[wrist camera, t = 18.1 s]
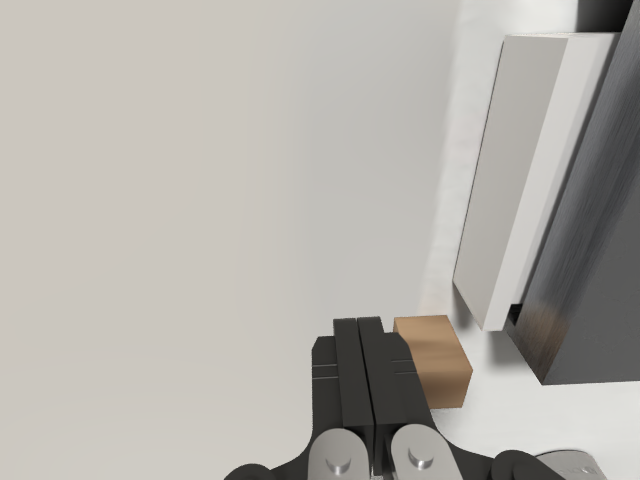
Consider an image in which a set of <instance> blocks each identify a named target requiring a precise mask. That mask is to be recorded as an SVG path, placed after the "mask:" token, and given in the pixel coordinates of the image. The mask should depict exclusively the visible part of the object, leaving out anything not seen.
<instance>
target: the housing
mask: <svg viewBox="0 0 640 480" xmlns="http://www.w3.org/2000/svg"><path fill="white" fill-rule="evenodd" d="M503 327H504V328H505V330H506V331H507V333H508V334H509V336H510V337H511V339H512V340H513V342H514V343H515V345H516V346H517V348H518V350H519V351H520V353H521V354H522V356H523V357H524V359H525V360H526V362H527V363H528V365H529V366H530V368H531V369H532V371H533V373H534V374H535V376H536V377H537V379H538V380H539V382H540V383H541V385H562V384H583V383H605V382H626V381H640V0H634V1H633V4H632V6H631V9H630V12H629V15H628V17H627V20H626V23H625V26H624V28H623V31H622V34H621V37H620V39H619V42H618V45H617V48H616V50H615V53H614V56H613V59H612V61H611V64H610V67H609V70H608V72H607V75H606V78H605V81H604V83H603V86H602V89H601V92H600V94H599V97H598V100H597V103H596V105H595V108H594V111H593V114H592V117H591V119H590V122H589V125H588V128H587V130H586V133H585V136H584V139H583V141H582V144H581V147H580V150H579V152H578V155H577V158H576V161H575V163H574V166H573V169H572V172H571V174H570V177H569V180H568V183H567V185H566V188H565V191H564V194H563V196H562V199H561V202H560V205H559V207H558V210H557V213H556V216H555V218H554V221H553V224H552V227H551V229H550V232H549V235H548V238H547V240H546V243H545V246H544V249H543V252H542V254H541V257H540V260H539V263H538V265H537V268H536V271H535V274H534V276H533V279H532V282H531V285H530V287H529V290H528V293H527V296H526V298H525V301H524V303H522V304H511V305H510V308H509V311H508V314H507V317H506V320H505V323H504V326H503Z"/></svg>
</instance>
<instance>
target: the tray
mask: <svg viewBox="0 0 640 480" xmlns="http://www.w3.org/2000/svg"><path fill="white" fill-rule="evenodd" d="M621 34H622V32H581V33H553V34H526V35H505V39H504V44H503V48H502V53H501V58H500V63H499V67H498V72H497V77H496V81H495V86H494V91H493V95H492V100H491V105H490V109H489V114H488V119H487V124H486V128H485V133H484V138H483V142H482V147H481V152H480V156H479V161H478V166H477V170H476V175H475V180H474V184H473V189H472V194H471V199H470V203H469V208H468V213H467V217H466V222H465V227H464V231H463V236H462V241H461V245H460V250H459V255H458V259H457V264H456V269H455V274H454V278H453V282H454V284H455V285H456V287H457V289H458V291H459V292H460V294H461V296H462V298H463V299H464V301H465V303H466V305H467V306H468V308H469V310H470V312H471V313H472V315H473V317H474V319H475V320H476V322H477V324H478V326H479V327H480V329H481V331H502V329H503V326H504V323H505V320H506V317H507V314H508V311H509V308H510V305H511V304H522V303H524V301H525V298H526V296H527V293H528V290H529V287H530V285H531V282H532V279H533V276H534V274H535V271H536V268H537V265H538V263H539V260H540V257H541V254H542V252H543V249H544V246H545V243H546V240H547V238H548V235H549V232H550V229H551V227H552V224H553V221H554V218H555V216H556V213H557V210H558V207H559V205H560V202H561V199H562V196H563V194H564V191H565V188H566V185H567V183H568V180H569V177H570V174H571V172H572V169H573V166H574V163H575V161H576V158H577V155H578V152H579V150H580V147H581V144H582V141H583V139H584V136H585V133H586V130H587V128H588V125H589V122H590V119H591V117H592V114H593V111H594V108H595V105H596V103H597V100H598V97H599V94H600V92H601V89H602V86H603V83H604V81H605V78H606V75H607V72H608V70H609V67H610V64H611V61H612V59H613V56H614V53H615V50H616V48H617V45H618V42H619V39H620V37H621Z"/></svg>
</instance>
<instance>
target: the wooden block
mask: <svg viewBox="0 0 640 480" xmlns="http://www.w3.org/2000/svg"><path fill="white" fill-rule="evenodd" d="M393 332H398V333H399V334H400V335H401V337H402V338H403V339H404V340H405V341H406V342H407V343H408V345H409V348H410V351H411V354H412V357H413V362H414V363H415V366H416V370H417V374H418V376H419V379H420V382H421V385H422V388H423V391H424V394H425V397H426V400H427V403H428V406H429V409H441V408H462V405H463V402H464V399H465V395H466V392H467V389H468V385H469V382H470V379H471V375H472V372H473V369H472V367H471V365H470V363H469V361H468V359H467V356H466V354H465V352H464V350H463V348H462V346H461V344H460V342H459V340H458V338H457V336H456V334H455V332H454V329H453V327H452V325H451V323H450V321H449V319H448V317H447V315H441V316H419V317H397V318H394V327H393Z"/></svg>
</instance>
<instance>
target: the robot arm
mask: <svg viewBox="0 0 640 480" xmlns="http://www.w3.org/2000/svg"><path fill="white" fill-rule="evenodd" d="M333 326H334V327H333V328H334V336H322V337H318V338H317V340H316V342H315V344H314V346H313V348H312V409H313V431H312V436H311V439H310V442H309V444H308V446H307V447H306V448H305V450H304V451H303V452H302V453H301V454H300V455H299V456H298V457H296V458H295V459H293V460H292V461H290V462H288V463H285V464H283V465H281V466H278V467H276V468H274V469H271V470H269V469H268V468H266V467H265V466H262V465H260V464H246V465H243V466H240V467H238V468H236V469H235V470H233V471H232V472H231V473H230V474H229V475H228V476H226V478H225V479H224V480H370V478H371V472H372V467H373V474H374V476H381V475H383V479H384V480H607V478H606V477H605V475H604V474H603V472H602V471H601V469H600V468H599V466H598V465H597V463H596V462H595V460H594V459H593V457H592V456H590V455H589V454H587V453H584V452H579V451H558V452H552V453H547V454H544V455H541V456H538V457H534V456H532V455H530V454H528V453H525V452H523V451H518V450H506V451H503V452H501V453H499V454H498V455H497V456H496V457H495V459H494V458H490V457H487V456H483V455H480V454H476V453H472V452H469V451H466V450H463V449H460V448H458V447H456V446H455V445H453V444H452V443H450V442H449V441H448V440H447V439H445V438H444V437H443V435H442V434H441V433H440V432H439V431H438V429H437V427H436V426H435V424H434V421H433V419H432V415H431V412H430V409H429V406H428V403H427V400H426V397H425V394H424V391H423V388H422V385H421V382H420V379H419V376H418V374H417V370H416V366H415V363H414V362H413V357H412V354H411V351H410V348H409V345H408V343H407V342H406V341H405V340H404V339H403V338H402V337H401V335H400V334H399V333H398V332H392V333H391V332H390V333H384V330H383V326H382V322H381V319H380V317H379V316H378V317H360V318H357V322H356V319H355V318H345V319H334V320H333Z"/></svg>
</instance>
